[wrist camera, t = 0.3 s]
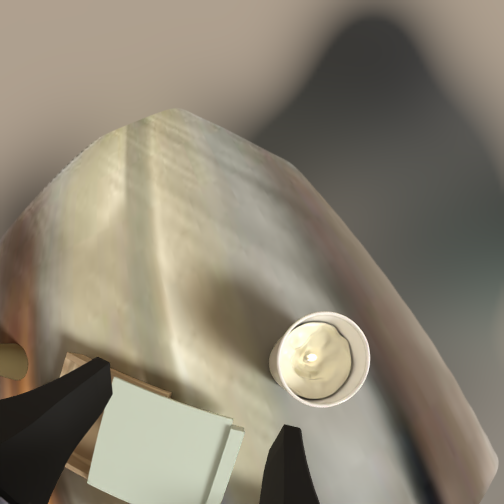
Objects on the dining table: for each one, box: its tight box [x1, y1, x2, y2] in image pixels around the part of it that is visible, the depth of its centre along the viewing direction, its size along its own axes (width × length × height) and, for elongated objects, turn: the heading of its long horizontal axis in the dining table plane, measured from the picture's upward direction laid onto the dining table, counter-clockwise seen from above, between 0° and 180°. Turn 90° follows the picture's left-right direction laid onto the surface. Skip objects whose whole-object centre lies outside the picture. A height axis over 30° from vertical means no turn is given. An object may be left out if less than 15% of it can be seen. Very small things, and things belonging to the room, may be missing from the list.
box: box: [60, 352, 172, 479], centre depth 31 cm, size 16×14×5 cm
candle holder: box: [269, 312, 370, 407], centre depth 34 cm, size 10×10×12 cm
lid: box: [87, 377, 245, 504], centre depth 28 cm, size 16×16×3 cm
